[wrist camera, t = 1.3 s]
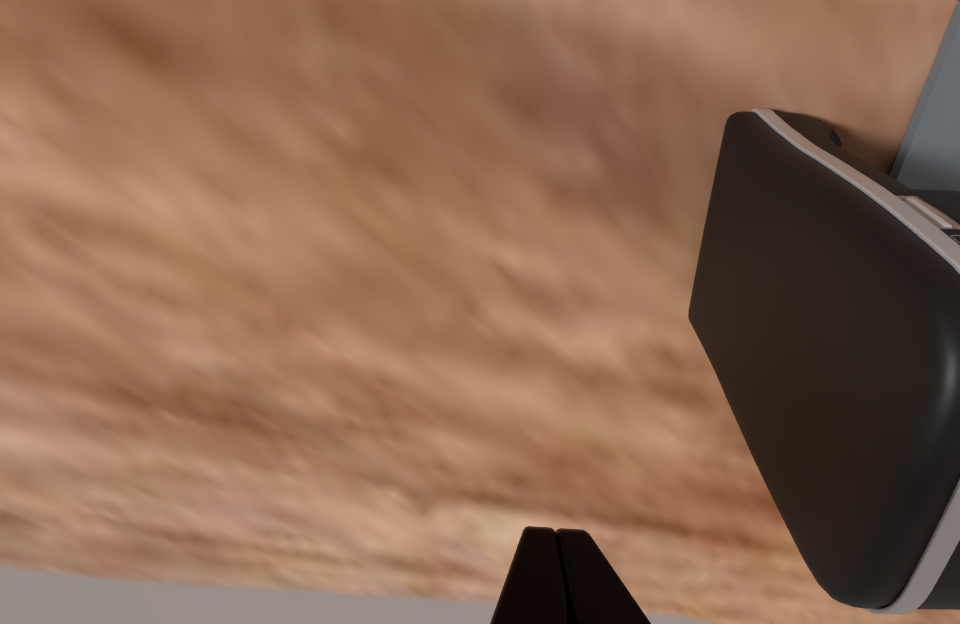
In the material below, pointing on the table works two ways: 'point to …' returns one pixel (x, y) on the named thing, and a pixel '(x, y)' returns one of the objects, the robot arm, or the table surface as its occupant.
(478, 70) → the table surface
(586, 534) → the robot arm
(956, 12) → the gray mat
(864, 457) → the battery charger
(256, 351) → the table surface
